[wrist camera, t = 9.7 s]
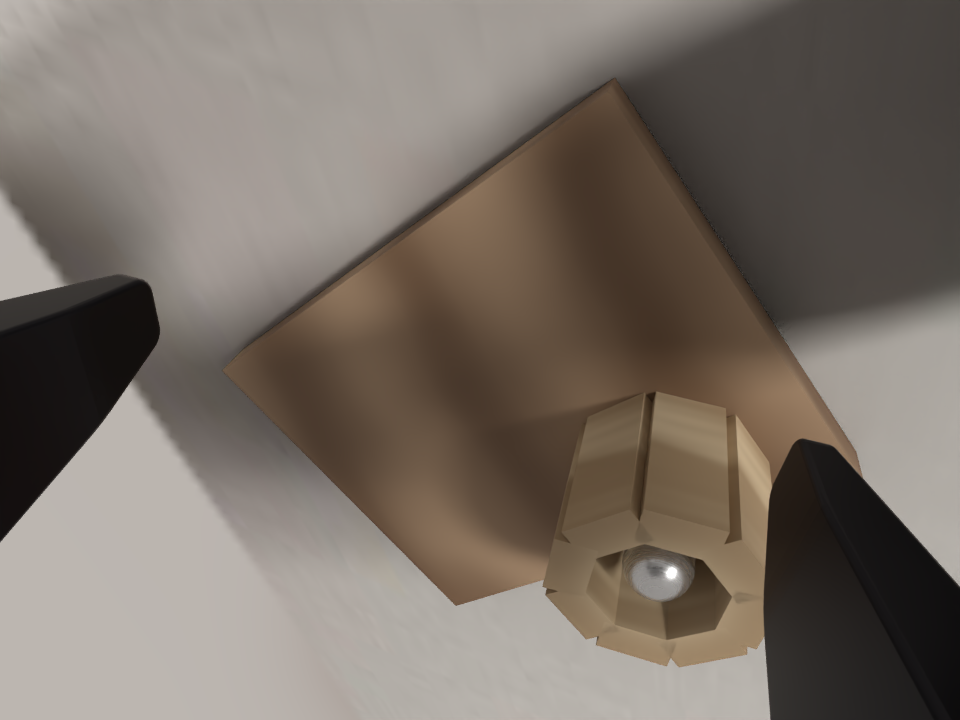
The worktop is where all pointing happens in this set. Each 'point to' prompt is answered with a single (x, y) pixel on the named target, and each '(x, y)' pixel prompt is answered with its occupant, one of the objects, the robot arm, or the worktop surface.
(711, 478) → the wooden octagonal holder
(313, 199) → the worktop surface
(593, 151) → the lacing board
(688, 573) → the silver metal cylinder
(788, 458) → the robot arm
